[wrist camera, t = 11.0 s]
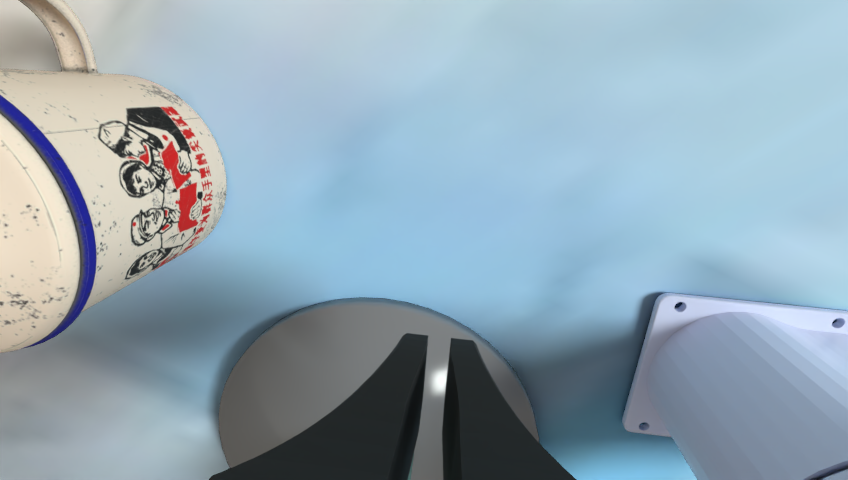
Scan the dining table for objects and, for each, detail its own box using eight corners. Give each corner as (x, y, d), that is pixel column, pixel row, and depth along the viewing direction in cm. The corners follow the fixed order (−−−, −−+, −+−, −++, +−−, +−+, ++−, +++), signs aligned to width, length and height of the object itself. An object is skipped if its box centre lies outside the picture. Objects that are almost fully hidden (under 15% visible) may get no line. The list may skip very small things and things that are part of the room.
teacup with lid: (241, 266, 22) (21, 439, 11) (73, 247, 23) (-294, 396, 12) (222, 3, 18) (-151, -132, 7) (19, -11, 19) (-621, -158, 8)
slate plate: (563, 317, 21) (567, 327, 20) (512, 566, 27) (514, 583, 26) (214, 280, 22) (203, 288, 22) (239, 527, 28) (231, 542, 27)
